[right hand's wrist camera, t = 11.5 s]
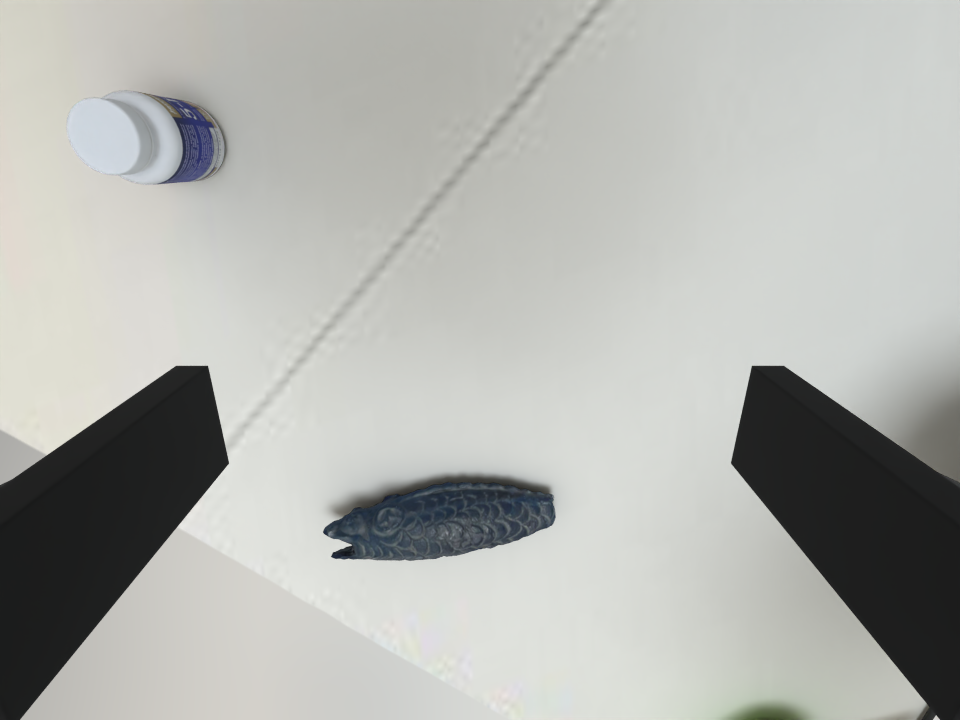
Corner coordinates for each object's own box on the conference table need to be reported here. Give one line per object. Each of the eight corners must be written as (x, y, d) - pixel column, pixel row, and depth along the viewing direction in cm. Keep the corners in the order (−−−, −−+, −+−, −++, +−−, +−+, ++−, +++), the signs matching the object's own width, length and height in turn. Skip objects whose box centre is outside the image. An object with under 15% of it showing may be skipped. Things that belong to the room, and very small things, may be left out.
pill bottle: (225, 107, 36) (148, 92, 27) (228, 185, 37) (157, 194, 29) (147, 94, 35) (45, 76, 27) (154, 174, 37) (61, 179, 29)
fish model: (325, 485, 47) (309, 522, 43) (551, 465, 47) (560, 500, 42) (339, 541, 50) (326, 582, 45) (554, 523, 49) (562, 562, 45)
